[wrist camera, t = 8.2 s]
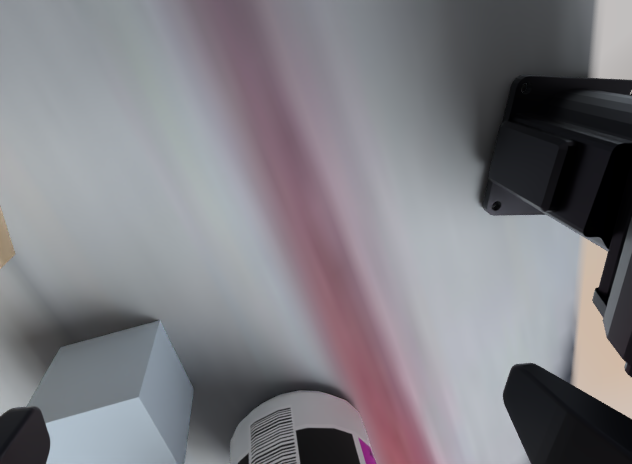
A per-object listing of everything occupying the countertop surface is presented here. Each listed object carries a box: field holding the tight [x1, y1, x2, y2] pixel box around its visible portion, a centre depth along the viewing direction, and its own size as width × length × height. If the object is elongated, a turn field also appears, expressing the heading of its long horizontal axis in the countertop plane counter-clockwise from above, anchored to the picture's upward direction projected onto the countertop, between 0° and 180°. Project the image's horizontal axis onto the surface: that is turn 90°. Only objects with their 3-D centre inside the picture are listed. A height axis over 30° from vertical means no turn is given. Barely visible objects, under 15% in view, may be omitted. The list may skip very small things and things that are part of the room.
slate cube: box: [27, 320, 194, 464], centre depth 20 cm, size 5×5×5 cm
